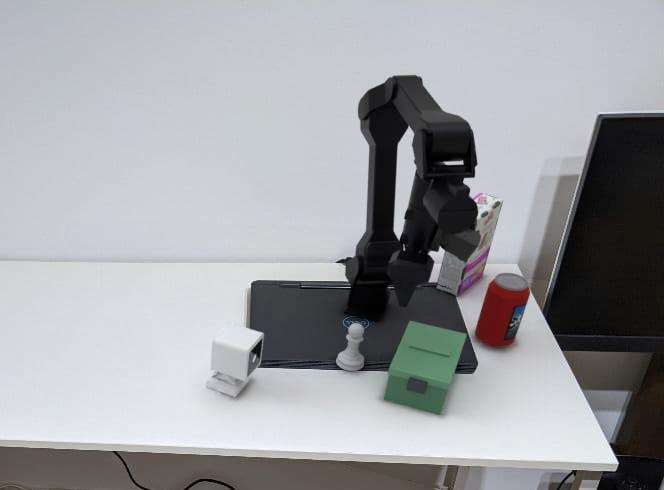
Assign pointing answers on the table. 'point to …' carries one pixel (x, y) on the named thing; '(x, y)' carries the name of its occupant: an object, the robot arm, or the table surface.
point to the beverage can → (502, 310)
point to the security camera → (234, 358)
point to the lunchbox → (424, 367)
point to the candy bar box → (466, 273)
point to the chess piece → (352, 350)
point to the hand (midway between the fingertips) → (407, 292)
